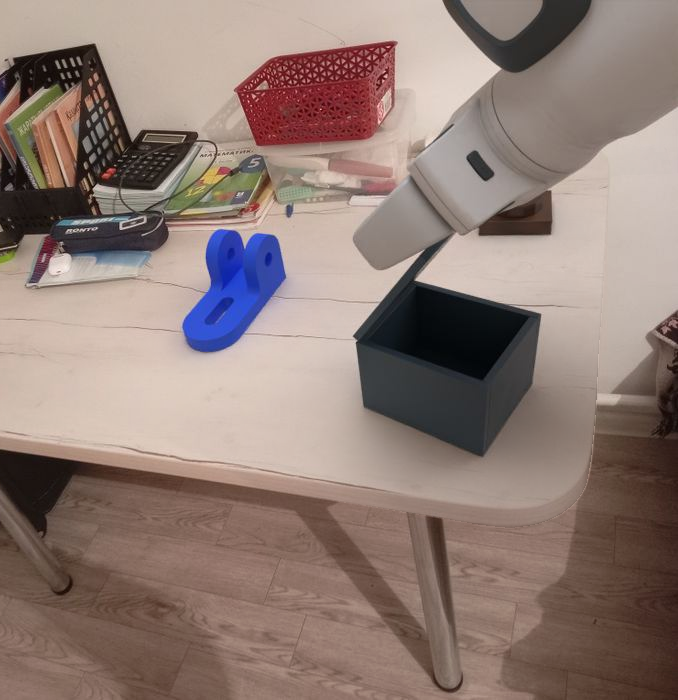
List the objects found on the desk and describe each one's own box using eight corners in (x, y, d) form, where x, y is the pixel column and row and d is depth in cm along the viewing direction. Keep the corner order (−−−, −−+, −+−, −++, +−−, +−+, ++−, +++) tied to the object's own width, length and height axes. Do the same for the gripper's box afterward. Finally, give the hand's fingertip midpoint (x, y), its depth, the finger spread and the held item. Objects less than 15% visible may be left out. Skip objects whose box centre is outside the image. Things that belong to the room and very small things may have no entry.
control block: (549, 203, 89) (552, 178, 87) (550, 234, 84) (553, 208, 82) (481, 205, 93) (483, 181, 90) (478, 235, 88) (479, 210, 85)
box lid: (492, 191, 56) (446, 156, 57) (427, 261, 50) (377, 221, 51) (416, 278, 68) (379, 249, 69) (358, 341, 63) (319, 308, 64)
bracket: (238, 270, 96) (225, 219, 90) (286, 277, 92) (275, 224, 86) (175, 344, 86) (156, 294, 80) (224, 357, 82) (208, 304, 76)
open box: (532, 383, 66) (541, 313, 60) (482, 457, 61) (486, 389, 55) (415, 344, 75) (413, 279, 69) (363, 406, 70) (355, 342, 63)
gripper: (550, 60, 50) (436, 158, 62) (404, 164, 41) (305, 254, 53) (599, 121, 50) (475, 207, 62) (464, 239, 41) (350, 311, 53)
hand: (395, 229), depth 58 cm, fingers open, 6 cm apart
